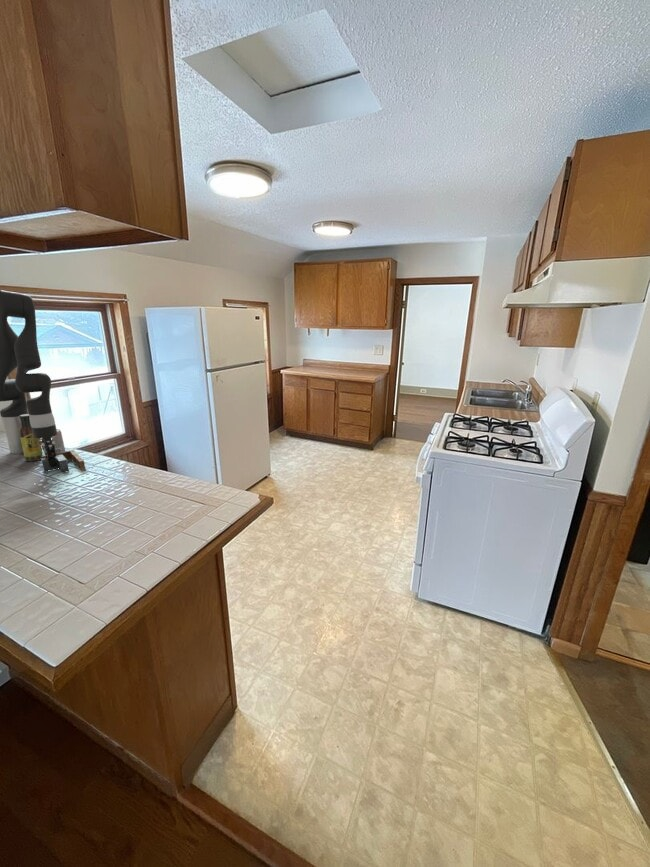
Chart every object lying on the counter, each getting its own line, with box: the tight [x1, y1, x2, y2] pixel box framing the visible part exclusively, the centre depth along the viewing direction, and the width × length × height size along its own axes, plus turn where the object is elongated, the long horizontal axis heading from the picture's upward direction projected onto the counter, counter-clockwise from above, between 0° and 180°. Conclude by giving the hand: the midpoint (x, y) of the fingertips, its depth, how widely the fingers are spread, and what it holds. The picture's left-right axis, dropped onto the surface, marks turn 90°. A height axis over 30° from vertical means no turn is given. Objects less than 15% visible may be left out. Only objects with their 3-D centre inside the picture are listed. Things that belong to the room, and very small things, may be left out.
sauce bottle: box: [19, 413, 44, 462], centre depth 148 cm, size 6×6×20 cm
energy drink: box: [51, 428, 66, 453], centre depth 152 cm, size 5×5×12 cm
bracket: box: [40, 455, 70, 473], centre depth 138 cm, size 7×8×5 cm
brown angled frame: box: [42, 449, 86, 472], centre depth 142 cm, size 18×11×4 cm, turn 46°
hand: (52, 464), depth 140 cm, fingers open, 4 cm apart
